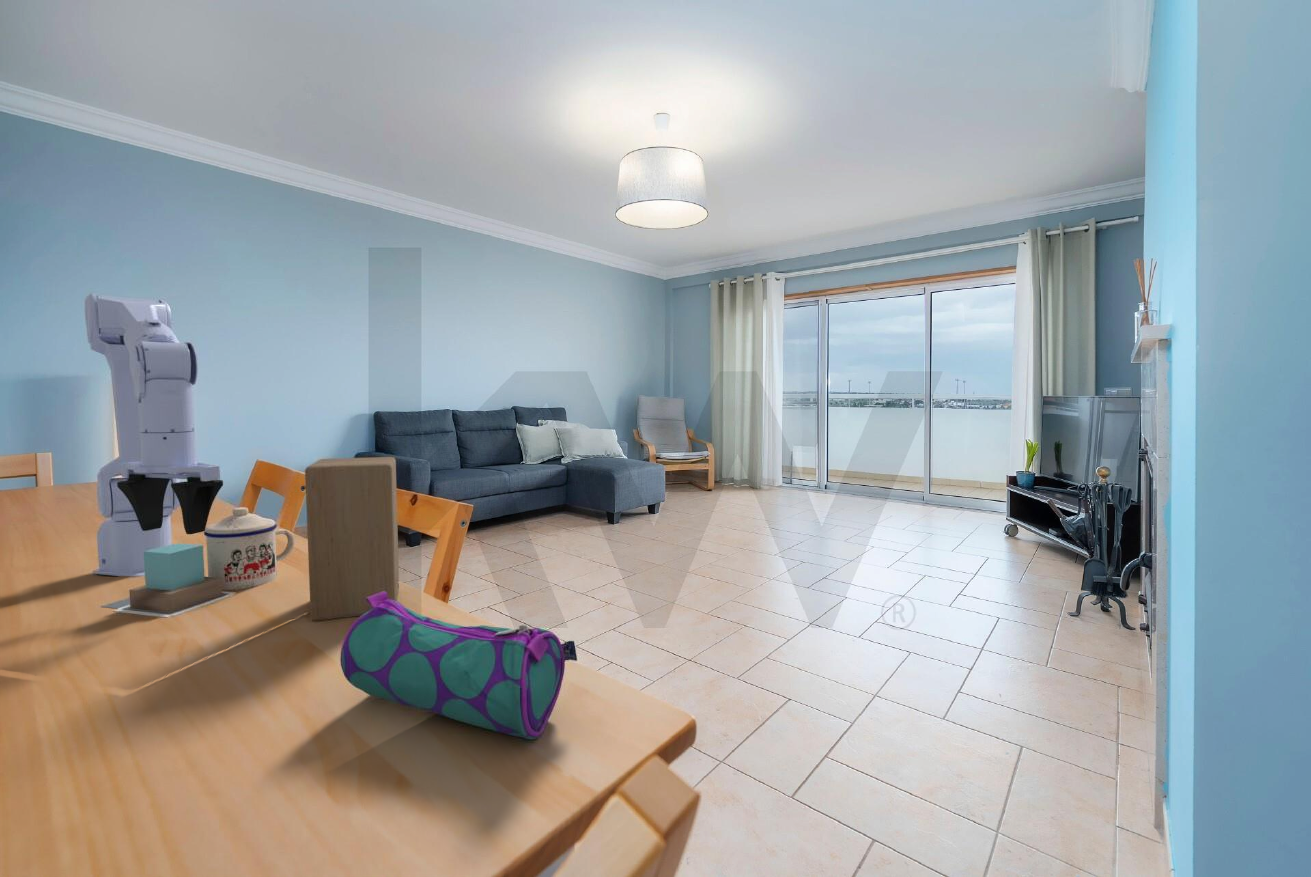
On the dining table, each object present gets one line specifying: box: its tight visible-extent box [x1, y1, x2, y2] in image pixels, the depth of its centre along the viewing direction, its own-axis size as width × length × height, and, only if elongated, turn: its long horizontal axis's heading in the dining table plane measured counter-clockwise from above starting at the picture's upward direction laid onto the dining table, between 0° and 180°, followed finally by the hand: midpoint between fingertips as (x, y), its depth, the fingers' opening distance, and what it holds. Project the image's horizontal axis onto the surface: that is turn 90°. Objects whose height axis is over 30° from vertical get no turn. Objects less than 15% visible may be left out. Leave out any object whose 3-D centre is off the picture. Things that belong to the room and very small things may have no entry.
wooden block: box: [304, 456, 400, 621], centre depth 81 cm, size 10×10×20 cm
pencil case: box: [339, 591, 578, 740], centre depth 55 cm, size 21×9×10 cm, turn 69°
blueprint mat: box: [100, 590, 237, 619], centre depth 82 cm, size 13×10×1 cm
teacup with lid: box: [203, 506, 295, 591], centre depth 92 cm, size 12×9×12 cm
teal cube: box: [144, 542, 206, 591], centre depth 81 cm, size 4×4×5 cm
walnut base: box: [128, 576, 223, 613], centre depth 82 cm, size 7×7×2 cm
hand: (173, 531), depth 81 cm, fingers open, 7 cm apart
